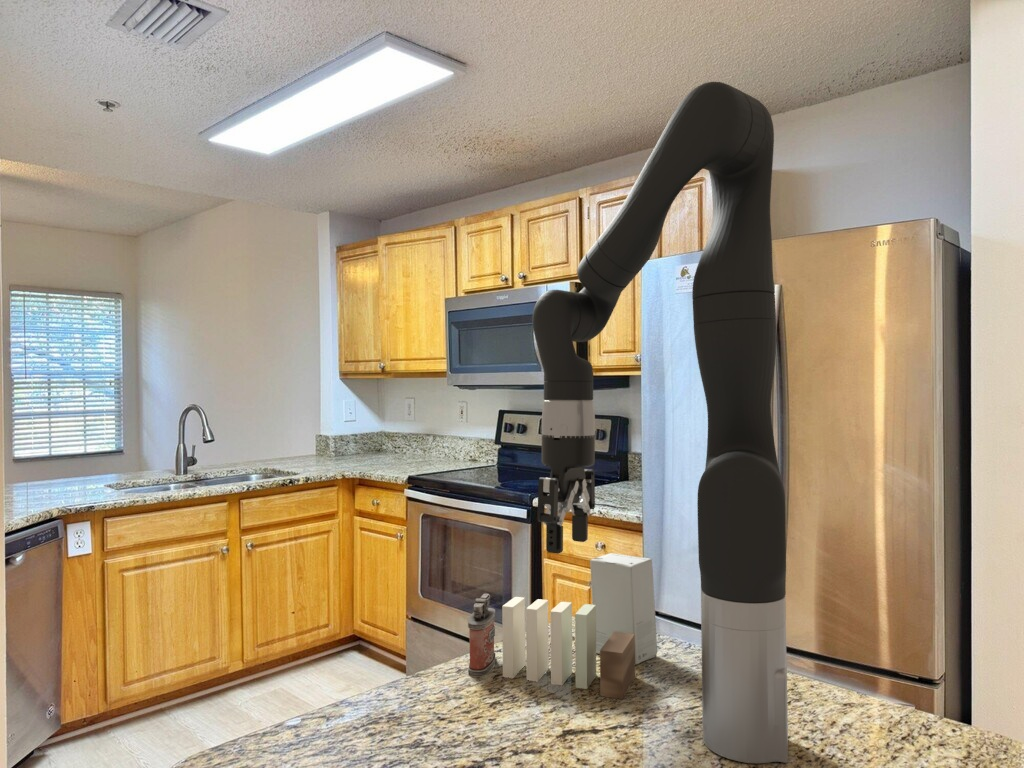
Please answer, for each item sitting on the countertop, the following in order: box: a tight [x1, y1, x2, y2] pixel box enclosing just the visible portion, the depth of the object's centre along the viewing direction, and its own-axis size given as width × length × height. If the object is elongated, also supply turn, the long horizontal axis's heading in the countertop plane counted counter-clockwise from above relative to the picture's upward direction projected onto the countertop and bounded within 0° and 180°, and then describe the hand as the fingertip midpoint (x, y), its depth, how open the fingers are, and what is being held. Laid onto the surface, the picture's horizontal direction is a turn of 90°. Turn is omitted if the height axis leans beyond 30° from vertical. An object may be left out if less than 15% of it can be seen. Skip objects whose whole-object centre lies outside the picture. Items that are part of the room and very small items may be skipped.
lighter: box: [467, 593, 497, 678], centre depth 105 cm, size 8×3×10 cm, turn 168°
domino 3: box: [549, 601, 573, 686], centre depth 100 cm, size 2×5×10 cm, turn 158°
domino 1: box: [501, 596, 526, 679], centre depth 103 cm, size 2×5×10 cm, turn 158°
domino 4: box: [574, 603, 597, 690], centre depth 99 cm, size 2×5×10 cm, turn 158°
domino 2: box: [525, 598, 550, 683], centre depth 101 cm, size 2×5×10 cm, turn 158°
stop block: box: [599, 632, 636, 700], centre depth 97 cm, size 3×8×6 cm, turn 159°
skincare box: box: [589, 552, 658, 665], centre depth 109 cm, size 8×6×15 cm
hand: (567, 546), depth 100 cm, fingers open, 8 cm apart
